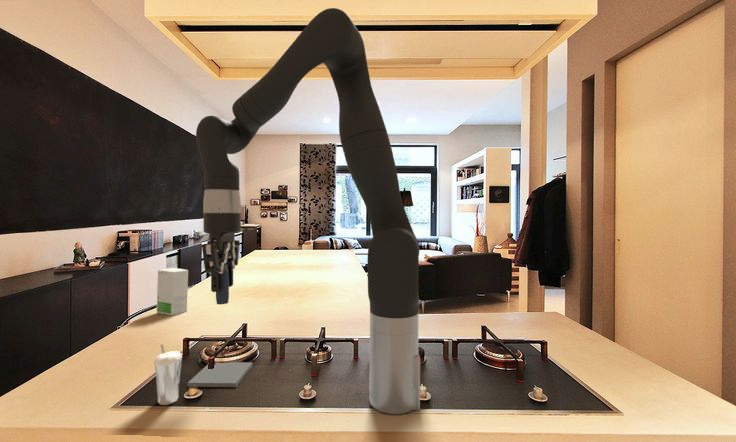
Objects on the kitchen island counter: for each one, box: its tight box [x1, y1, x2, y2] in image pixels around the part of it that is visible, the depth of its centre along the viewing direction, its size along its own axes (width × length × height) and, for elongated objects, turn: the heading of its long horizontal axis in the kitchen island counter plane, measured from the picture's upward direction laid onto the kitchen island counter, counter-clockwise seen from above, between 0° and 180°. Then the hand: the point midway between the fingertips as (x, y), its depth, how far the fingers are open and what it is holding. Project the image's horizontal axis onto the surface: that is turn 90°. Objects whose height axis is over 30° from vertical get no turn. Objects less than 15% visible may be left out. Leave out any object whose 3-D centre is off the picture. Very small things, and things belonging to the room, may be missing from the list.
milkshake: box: [153, 343, 183, 406], centre depth 66 cm, size 4×5×10 cm
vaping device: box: [215, 257, 230, 305], centre depth 75 cm, size 3×5×12 cm, turn 21°
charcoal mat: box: [187, 361, 254, 388], centre depth 76 cm, size 10×10×1 cm
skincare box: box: [156, 267, 189, 317], centre depth 125 cm, size 8×7×16 cm
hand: (222, 288), depth 76 cm, fingers closed on vaping device, 5 cm apart
